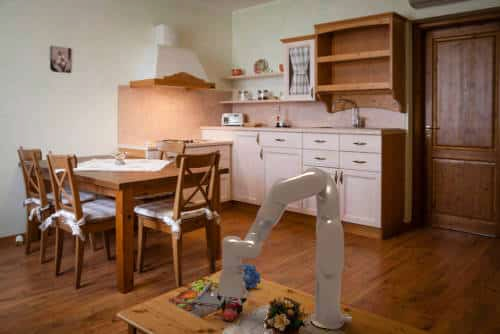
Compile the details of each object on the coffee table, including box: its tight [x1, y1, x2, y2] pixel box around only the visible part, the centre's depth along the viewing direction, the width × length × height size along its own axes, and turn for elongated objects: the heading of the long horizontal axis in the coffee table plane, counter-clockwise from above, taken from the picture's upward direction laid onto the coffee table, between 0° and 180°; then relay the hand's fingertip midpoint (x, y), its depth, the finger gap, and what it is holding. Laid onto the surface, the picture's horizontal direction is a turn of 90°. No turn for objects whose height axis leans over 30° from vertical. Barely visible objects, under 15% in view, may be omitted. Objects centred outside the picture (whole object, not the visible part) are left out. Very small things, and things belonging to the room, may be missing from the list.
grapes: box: [242, 262, 262, 289], centre depth 196 cm, size 12×7×12 cm, turn 84°
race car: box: [221, 300, 239, 321], centre depth 171 cm, size 13×5×4 cm, turn 162°
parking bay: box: [192, 280, 231, 308], centre depth 189 cm, size 14×21×2 cm, turn 168°
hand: (231, 312), depth 172 cm, fingers closed on race car, 5 cm apart
